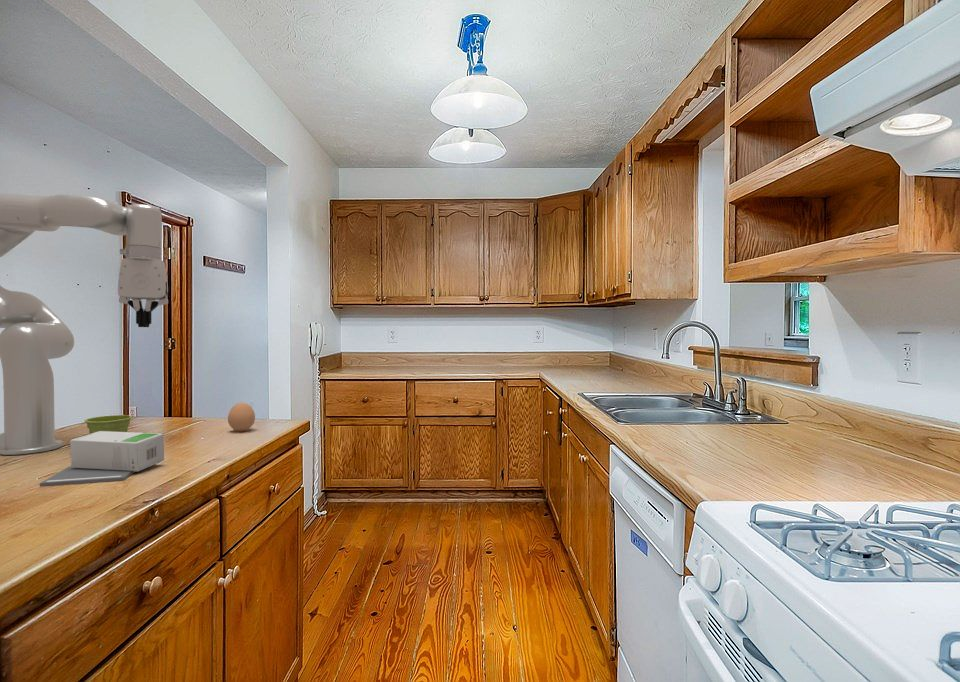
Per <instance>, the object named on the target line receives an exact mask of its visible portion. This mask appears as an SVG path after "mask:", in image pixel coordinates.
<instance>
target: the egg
mask: <svg viewBox="0 0 960 682" xmlns="http://www.w3.org/2000/svg"><path fill="white" fill-rule="evenodd" d="M255 421H256V413H255V411H254V409H253V407H252V406H251V405H250V404H249V403H246V402H238V403H235V404H234V405H233V406H232V407H231V408H230V411H229V412H228V414H227V423H228V425H229V426H230V428H231V429H232V430H234V431H235V432H245V431H247V430H250V428H252V427H253V425H254V423H255Z"/></svg>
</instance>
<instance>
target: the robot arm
mask: <svg viewBox="0 0 960 682" xmlns="http://www.w3.org/2000/svg"><path fill="white" fill-rule="evenodd" d="M162 216H163V215H162V211H161V209H160V208H158V207H156V206H154V205H150V204H142V203H133V204H129V205H128V206H127V207H126V206H122V205H120V204H117V203H114V202H113V201H110V200H107V199H104V198H101V197H98V196H89V195H78V194H77V195H75V194H55V195H49V196H46V195H27V194H19V193H4V192H3V193H2V192H0V258H2V257H3V256H5V255H6V254H7V253H9V252H10V251H12V250H13V249H14V248H16V247H17V246H18V245H19V244H21V243H22V242H24V241H25V240H27V238H29V237H30V236H31V235H33V234H34V233H35V231H36V232H37V231H39V232H55V231H57V230H58V229H60V227H75V228H77V227H78V228H86V229H87V228H89V229H94V230H98V231H101V232H103V233H107V234H110V235H114V236H126V237H125V239H126V241H125V242H126V245H125V247H124V248H120V249H119V254H120V255H123V256H124V257H125V258H121V262H120V267H119V274H118V281H117V294H118V296H119V299H118V302H119V303H121V304H124V305H129V306H130V307H131V308H132V309H133V310H134V311H135V324H136V325H138V328H150V325H151V324H152V312H154V310H155V309H156V308H157V307H159V306H163V305H165V306H166V305H168V304H169V299H168V296H169V295H168V294H169V285H168V276H167V275H168V274H167V269H166V264H165V263H166V262H165V261H164V260H162V251H163V250H162V246H163V245H162V239H163V238H162V235H163V234H162V228H163V227H162V226H163V225H162V224H163V223H162V221H163V220H162V219H163V217H162ZM142 300H145V306H143V301H142ZM0 329H3V330H1V332H0V362H1V363H0V364H1V368H2V369H1V370H2V381H3V386H2V387H3V388H2V389H3V430H4V431H3V432H1V433H0V455H3V456H11V455H12V456H16V455H28V454H35V453H43V452H47V451H48V452H49V451H52V450H53V451H54V450H56V449H59V448H61V447H62V446H63V443H64V442H63V441H62V440H60V439H55V438H56V437H55V434H56V433H55V429H56V427H55V426H56V425H55V381H54V379H55V378H54V371H53V368H52V366H51V363H50V361H49V360H53V359H54V360H55V359H59V358H62V357H65V356H67V355H68V354H69V353H71V351H72V350H73V349H74V347H75V346H74V345H75V337H74V334H73V333H72V331H71V329H70V328H69V327H68V326H67V325H66V323H64V321H62V320H61V319H60V318H59V316H57V314H55V313H54V311H52V309H50V308H49V307H48V305H46V304H45V303H44V302H43V301H42V300H41V299H40V298H38V297H37V296H35V295H34V294H30V293H27V292H23V291H17V290H16V291H15V290H9V289H6V288H5V287H3V286H1V285H0Z"/></svg>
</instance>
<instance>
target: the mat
mask: <svg viewBox="0 0 960 682" xmlns="http://www.w3.org/2000/svg"><path fill="white" fill-rule="evenodd" d="M135 472H136V471H123V470H105V469H85V468H71V465H69V466H67V467H65V468H64V469H62V470H60V471H59V472H57V473H55V474H53V475H52V476H49V478H46V479H45V480H43V481H42V482H39V487H49V486H50V487H51V486H52V487H53V486H62V485H64V484H67V485H81V484H93V483H106V482H107V483H108V481H109V482H122V480H123V481H125V480H127V479H128V478H129V477H130V476H131V475H133V474H134V473H135ZM80 483H81V484H80Z"/></svg>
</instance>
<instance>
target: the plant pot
mask: <svg viewBox="0 0 960 682" xmlns="http://www.w3.org/2000/svg"><path fill="white" fill-rule="evenodd" d="M132 418H133V416H132V415H128V414H114V415H102V416H95V417H89V418H86V419H85V420H84V423H85V424H86V427H87V429H88V432H89V434H92V433H95V432H99V431H110V432H128V429H129V426H130V421H131V419H132Z"/></svg>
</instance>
